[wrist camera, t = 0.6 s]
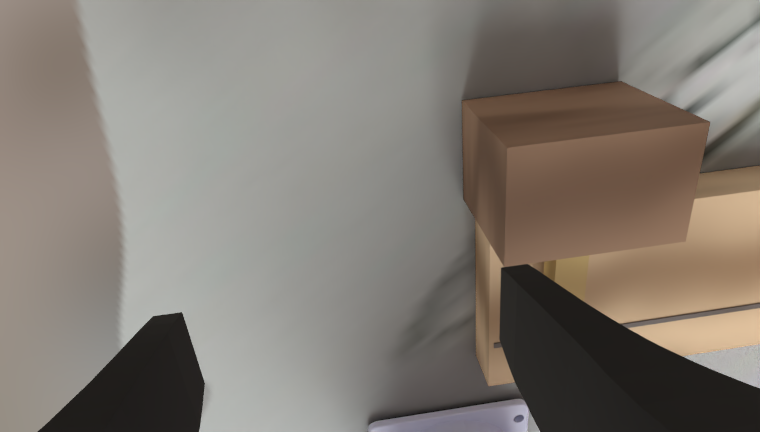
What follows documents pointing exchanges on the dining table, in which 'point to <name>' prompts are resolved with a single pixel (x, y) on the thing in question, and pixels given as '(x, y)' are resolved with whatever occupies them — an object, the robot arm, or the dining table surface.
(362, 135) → the dining table surface
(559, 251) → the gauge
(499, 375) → the board
